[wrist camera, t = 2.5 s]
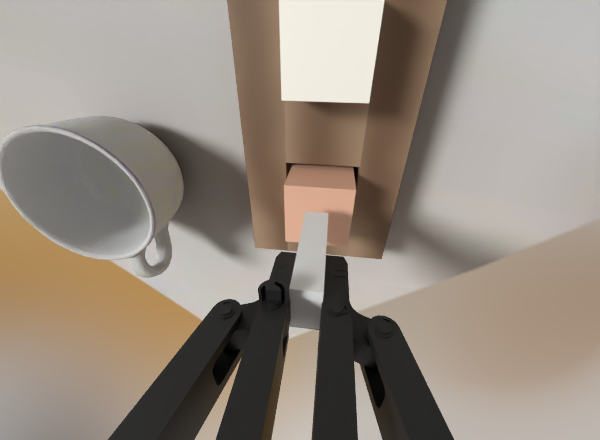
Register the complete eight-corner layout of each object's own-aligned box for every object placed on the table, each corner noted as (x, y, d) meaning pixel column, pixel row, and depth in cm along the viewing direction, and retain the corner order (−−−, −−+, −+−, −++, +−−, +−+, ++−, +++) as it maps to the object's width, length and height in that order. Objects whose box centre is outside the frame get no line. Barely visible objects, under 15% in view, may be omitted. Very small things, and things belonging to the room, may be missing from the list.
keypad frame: (557, -550, 8) (655, -817, 6) (377, 239, 26) (381, 259, 23) (201, -476, 9) (150, -670, 7) (262, 229, 27) (255, 247, 24)
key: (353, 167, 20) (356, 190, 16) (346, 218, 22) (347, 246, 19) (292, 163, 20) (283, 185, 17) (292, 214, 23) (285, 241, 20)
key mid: (375, -1, 14) (387, -18, 11) (363, 93, 17) (369, 103, 14) (291, -1, 15) (278, -16, 11) (292, 91, 17) (281, 100, 14)
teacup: (65, 112, 23) (-48, 136, 16) (174, 98, 21) (97, 119, 14) (138, 236, 30) (81, 288, 23) (222, 234, 28) (187, 290, 22)
